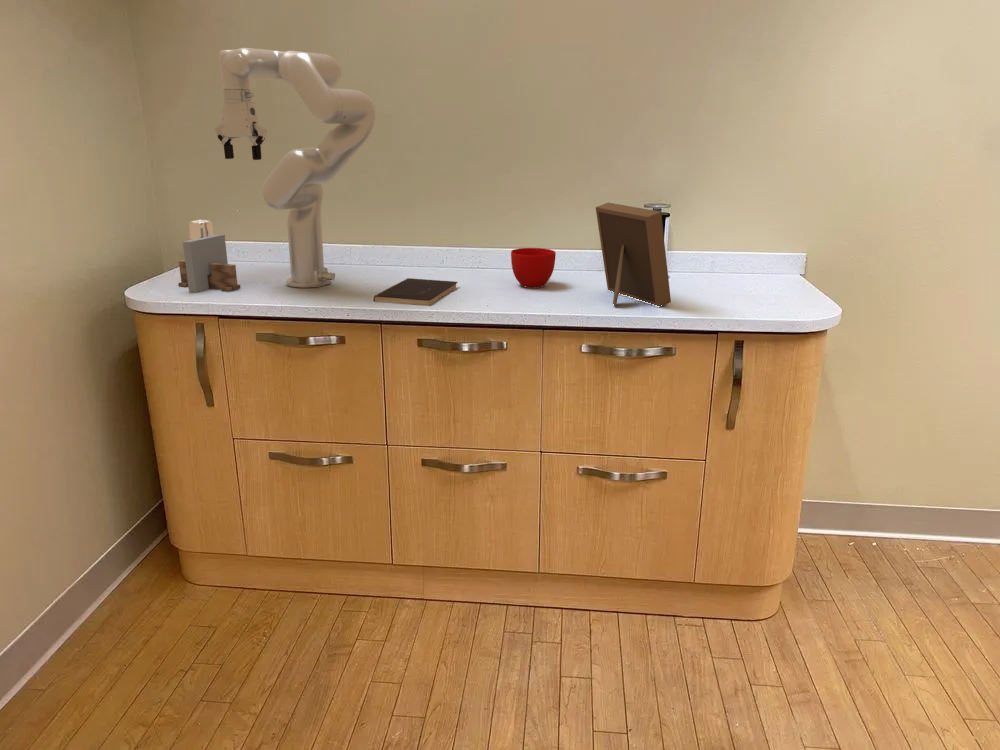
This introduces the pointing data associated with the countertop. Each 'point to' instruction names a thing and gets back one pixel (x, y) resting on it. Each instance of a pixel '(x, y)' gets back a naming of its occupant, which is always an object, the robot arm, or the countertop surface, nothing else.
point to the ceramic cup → (533, 265)
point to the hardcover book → (416, 291)
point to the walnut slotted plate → (215, 276)
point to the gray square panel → (203, 259)
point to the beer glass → (200, 228)
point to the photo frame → (634, 253)
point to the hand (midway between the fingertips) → (243, 159)
